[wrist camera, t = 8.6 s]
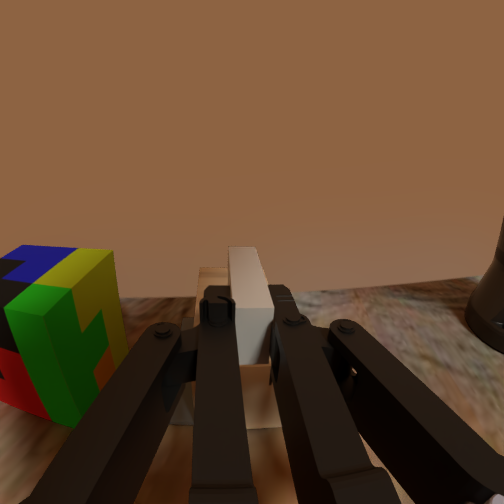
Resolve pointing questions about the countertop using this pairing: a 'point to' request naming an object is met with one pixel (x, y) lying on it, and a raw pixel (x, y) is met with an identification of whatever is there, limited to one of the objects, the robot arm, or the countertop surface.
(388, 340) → the countertop surface
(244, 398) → the beech block
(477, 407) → the countertop surface
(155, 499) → the countertop surface
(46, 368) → the puzzle toy
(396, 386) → the robot arm
